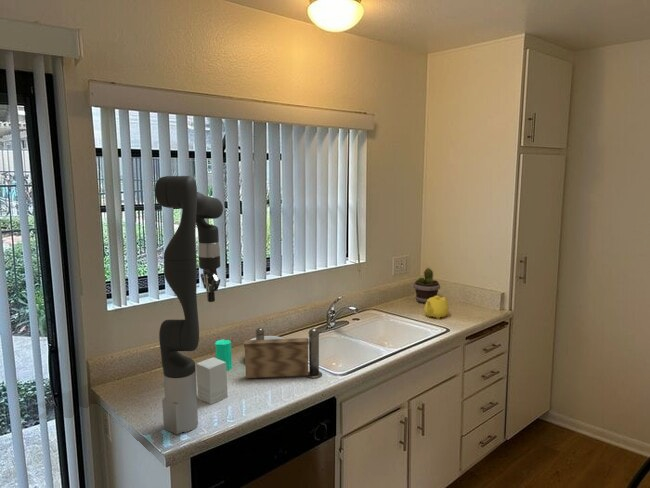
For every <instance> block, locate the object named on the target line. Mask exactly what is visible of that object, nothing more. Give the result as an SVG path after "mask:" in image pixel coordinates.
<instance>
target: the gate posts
mask: <svg viewBox="0 0 650 488" xmlns="http://www.w3.org/2000/svg"><path fill="white" fill-rule="evenodd" d="M264 336H265V329H264V328H263V327H257V328H256V329H255V338H256V340H264ZM319 337H320V330H318V328H316V327H312V328H310V329H309V330H308V341H309V345H308V375H300V376H278V377H257V378H256V379H272V378H273V379H274V378H308V379H313V380H315V379H319V378H322V377H323V373H322V372H321V371H320V340H319V339H320V338H319Z"/></svg>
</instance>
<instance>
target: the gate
mask: <svg viewBox="0 0 650 488" xmlns="http://www.w3.org/2000/svg"><path fill="white" fill-rule="evenodd" d="M243 347H244V362H245V363H244V367H245V369H244V370H245V379H252V378H253V379H254V378H256V379H258V378H257V377H278V376H300V375H308V372H309V337H301V338H300V337H299V338H284V339H269V340H251V339H248V340H247V339H246V340H244V342H243Z"/></svg>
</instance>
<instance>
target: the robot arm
mask: <svg viewBox="0 0 650 488" xmlns="http://www.w3.org/2000/svg"><path fill="white" fill-rule="evenodd" d="M154 196H155V200H156V202H157V204H159V205H160V206H161V207H164V208H167V209H168V208H169V209H170V208H171V209H181V210H182V211H181V218H180V222H179V224H178V227H177V229H176V230H175V233H174V234H173V236H172V238H170V240H169V242H168V244H167V246H166V248H165V250H164V252H163V273H164V277H165V280H166V283H167V284H168V286H169V287H170V288H171V290H172V291H173V293H174V294H175V296H176V298H177V299H178V301H179V303H180V306H181V307H182V312H183V314H184V316H183V317H184V319H165V320H163V322H162V323H161V324H160V326H159V332H158V338H159V339H158V340H159V347H160V355H161V367H162V371H163V373H162V374H163V384H164V385H163V386H164V387H163V388H164V398H162V401H161V403H162V405H161V406H162V420H163V421H162V422H163V429H164V430H166V431H168V432H170V433H173V434H175V435H179V434H183V433H182V432H184V433H187V431H188V432H190V430H191V431H193V430H195V429H196V428H197V426H198V425H199V414H198V389H197V368H196V362H195V360H194V359H192V358H190V357H189V356H186V355H183V354H182V353H180V352H194V351H195V350H197V349H198V346H199V342H200V323H199V313H198V300H197V299H198V297H197V273H198V272H197V271H198V270H197V264H198V268H199V269H200V270H202V271H203V273H200V278H201V282H202V285H203V288H204V290H205V291H206V294H207V295H206V298H207V302H209V303H213V302H215V301H216V300H215V299H216V298H215V295H216V294H215V293H216V292H217V291H218V289H219V287H220V283H221V279H220V278H218V271H217V269H219V268H220V267H221V248H220V247H221V246H220V241H219V240H220V239H219V238H220V237H219V227H218V226H216V225H215V224H214V225H213V224H210V223H207V221H206V220H207V219H211V220H213V219H219V218H220V217H221V216H222V214H223V213H224V206H223V204H222V201H221V200H220V199H218V198H217V197H213V196H206V195H204V194H203V193H201V192H199V191H198V186H197V181H196V179H195V178H194V177H193V176H191V175H166V176H162V177H159V178H158V179H157V180H156V182H155V186H154ZM205 219H206V220H205ZM196 229H197V237H198V260H197V240H196V239H197V238H196ZM197 261H198V263H197Z"/></svg>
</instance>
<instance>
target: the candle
mask: <svg viewBox="0 0 650 488" xmlns="http://www.w3.org/2000/svg"><path fill="white" fill-rule="evenodd" d="M214 343H215V344H214V345H215V346H214V348H215V358H217V359H219V360H222V361H224V362H226V372H227V371H229V370H231V369H232V368H233V362H232V360H233V357H232V341H231V340H230V339H219V340H217V341H215V342H214Z"/></svg>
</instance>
